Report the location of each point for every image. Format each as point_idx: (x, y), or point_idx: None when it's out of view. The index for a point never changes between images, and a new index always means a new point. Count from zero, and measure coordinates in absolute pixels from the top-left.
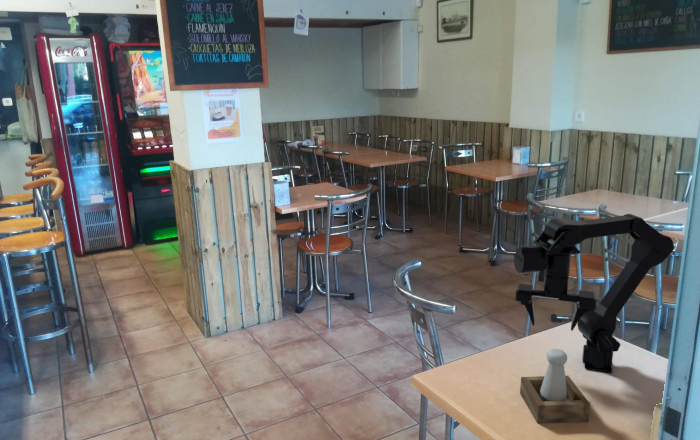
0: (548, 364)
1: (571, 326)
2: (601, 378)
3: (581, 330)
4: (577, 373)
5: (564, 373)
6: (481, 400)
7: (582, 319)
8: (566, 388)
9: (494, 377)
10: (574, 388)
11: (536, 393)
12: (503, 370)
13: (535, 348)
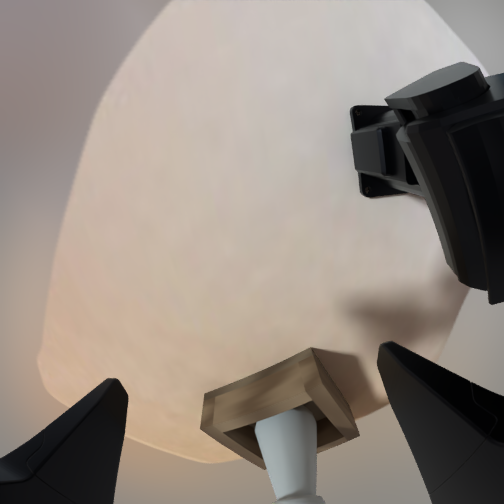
0: (273, 486)
1: (389, 399)
2: (402, 231)
3: (422, 184)
4: (338, 234)
5: (315, 472)
6: (152, 424)
7: (479, 188)
8: (316, 438)
9: (125, 358)
10: (334, 417)
11: (252, 454)
12: (125, 321)
13: (164, 117)
